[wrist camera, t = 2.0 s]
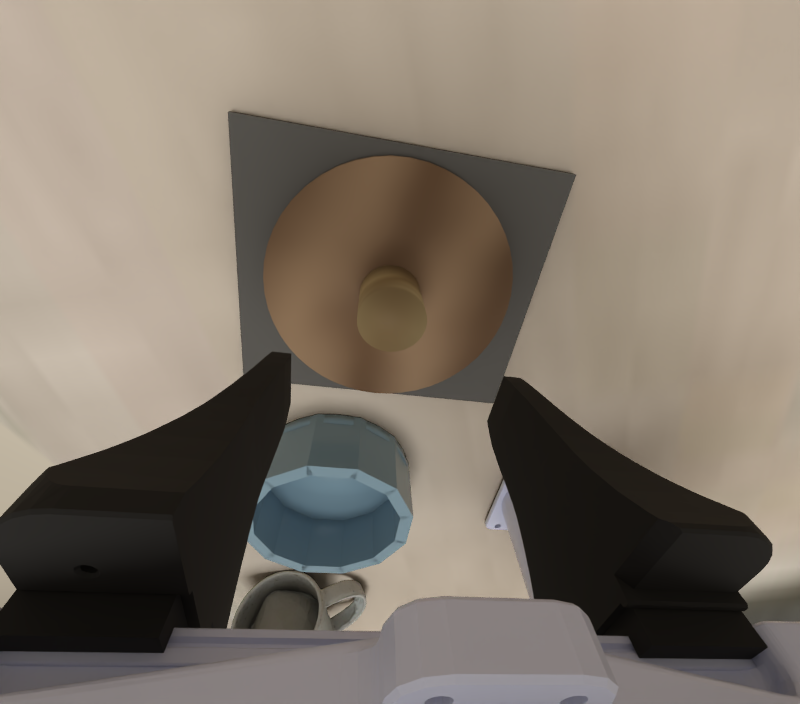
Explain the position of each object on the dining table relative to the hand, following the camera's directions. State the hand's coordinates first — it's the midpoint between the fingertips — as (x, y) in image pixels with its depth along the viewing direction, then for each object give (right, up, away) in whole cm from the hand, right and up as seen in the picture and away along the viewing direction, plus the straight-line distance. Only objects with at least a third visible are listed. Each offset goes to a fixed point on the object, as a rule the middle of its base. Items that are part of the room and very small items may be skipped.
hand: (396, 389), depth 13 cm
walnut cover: (0, +5, +8) cm, 9 cm away
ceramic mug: (-9, -22, +24) cm, 33 cm away
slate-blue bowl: (-5, -8, +15) cm, 18 cm away
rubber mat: (-1, +5, +8) cm, 10 cm away
